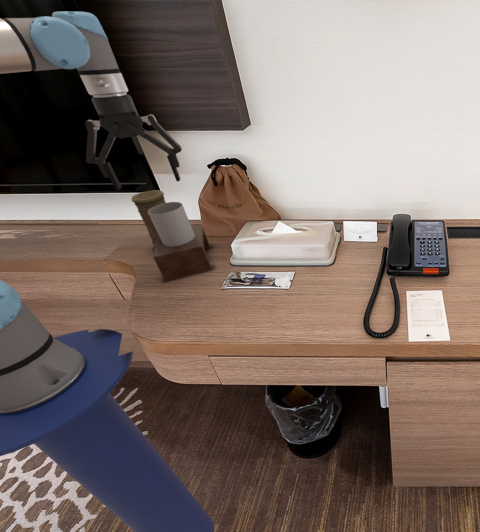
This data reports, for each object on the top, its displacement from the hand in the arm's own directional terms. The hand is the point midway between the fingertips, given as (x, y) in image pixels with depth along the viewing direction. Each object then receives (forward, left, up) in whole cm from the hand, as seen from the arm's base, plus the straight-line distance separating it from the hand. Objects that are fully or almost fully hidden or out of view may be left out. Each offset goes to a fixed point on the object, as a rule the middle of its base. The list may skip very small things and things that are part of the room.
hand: (149, 184), depth 91 cm
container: (-5, +15, -25) cm, 30 cm away
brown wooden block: (+1, 0, -25) cm, 25 cm away
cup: (+1, 0, -17) cm, 17 cm away
